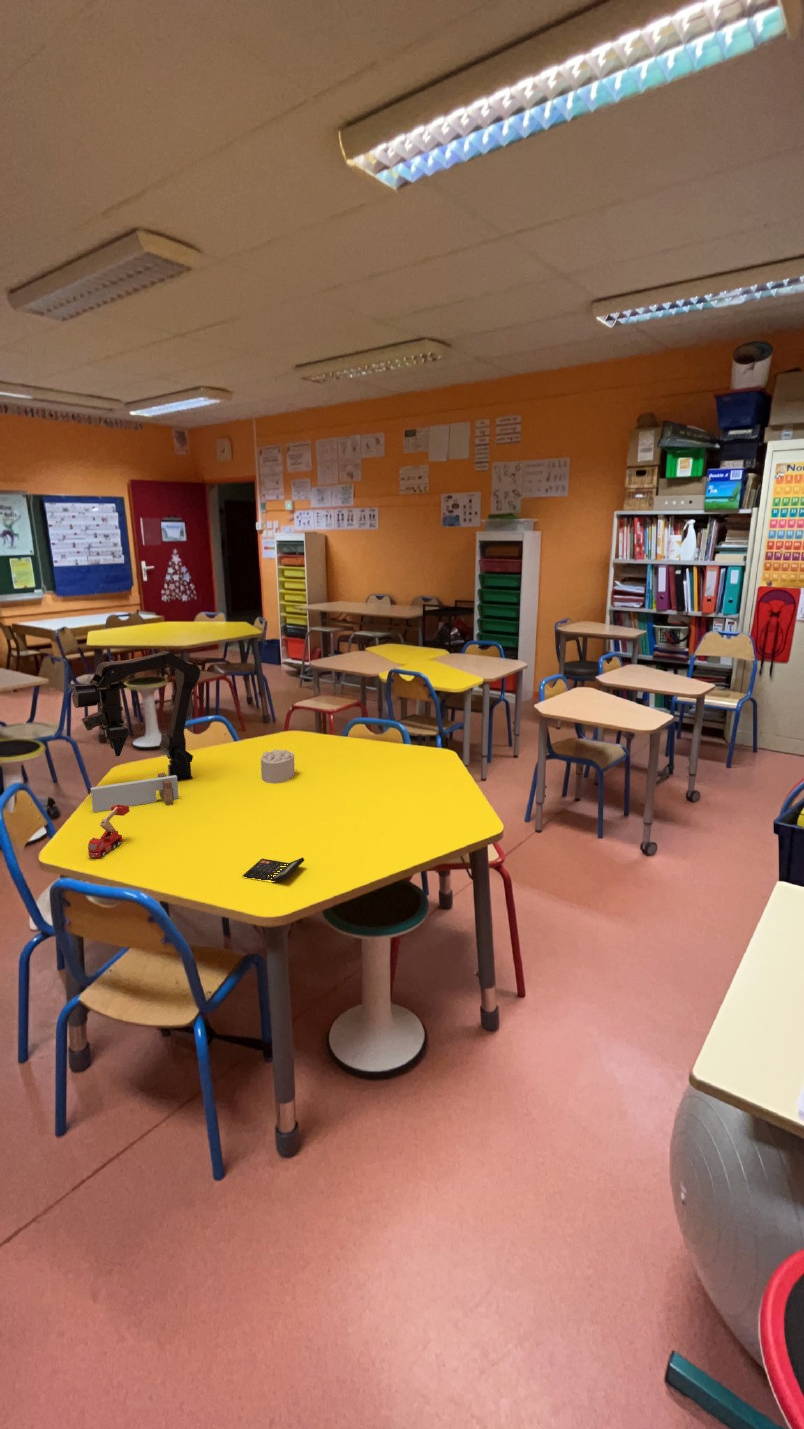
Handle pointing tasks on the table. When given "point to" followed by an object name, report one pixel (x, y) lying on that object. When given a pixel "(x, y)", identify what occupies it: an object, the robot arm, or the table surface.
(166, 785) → the walnut stand
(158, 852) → the table surface
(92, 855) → the toy fire truck
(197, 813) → the table surface
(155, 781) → the grey board
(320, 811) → the table surface
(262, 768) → the lumpy-topped squat cylinder
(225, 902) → the table surface
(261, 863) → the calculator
